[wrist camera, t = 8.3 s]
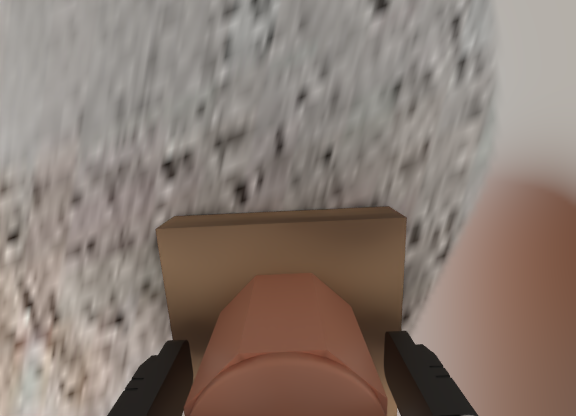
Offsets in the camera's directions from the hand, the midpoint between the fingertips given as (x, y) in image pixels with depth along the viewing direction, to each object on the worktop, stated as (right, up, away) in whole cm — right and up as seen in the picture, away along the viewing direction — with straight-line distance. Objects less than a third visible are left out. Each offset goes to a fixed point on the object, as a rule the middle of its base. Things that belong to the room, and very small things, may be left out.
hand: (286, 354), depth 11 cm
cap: (0, 0, +1) cm, 1 cm away
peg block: (0, +1, +3) cm, 3 cm away
